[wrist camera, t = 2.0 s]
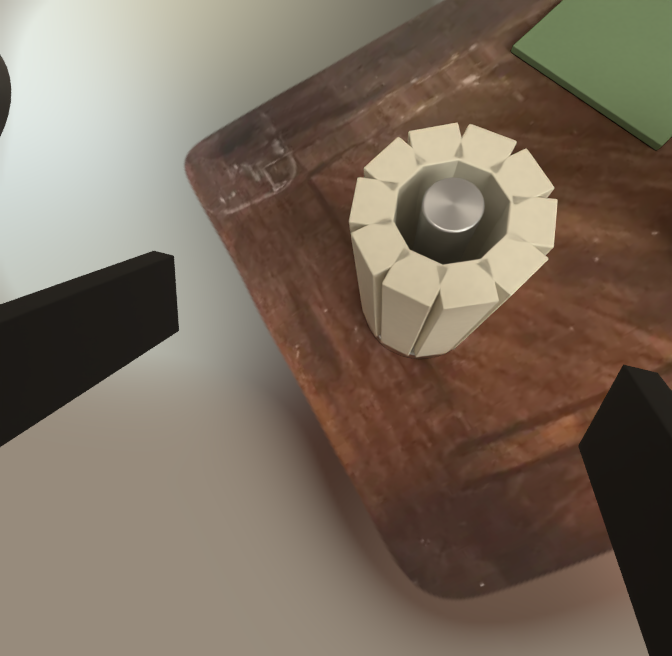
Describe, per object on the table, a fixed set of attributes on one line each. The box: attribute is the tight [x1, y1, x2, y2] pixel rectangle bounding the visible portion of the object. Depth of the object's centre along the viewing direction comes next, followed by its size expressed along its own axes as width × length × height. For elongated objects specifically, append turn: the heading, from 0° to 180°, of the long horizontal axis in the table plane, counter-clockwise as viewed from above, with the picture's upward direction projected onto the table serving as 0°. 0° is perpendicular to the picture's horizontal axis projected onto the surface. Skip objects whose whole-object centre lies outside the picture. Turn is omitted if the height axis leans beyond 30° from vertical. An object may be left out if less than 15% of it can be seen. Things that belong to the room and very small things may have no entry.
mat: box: [511, 0, 672, 150], centre depth 32 cm, size 14×14×1 cm
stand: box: [365, 177, 485, 359], centre depth 22 cm, size 8×8×14 cm
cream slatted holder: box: [349, 123, 557, 357], centre depth 22 cm, size 8×8×12 cm
